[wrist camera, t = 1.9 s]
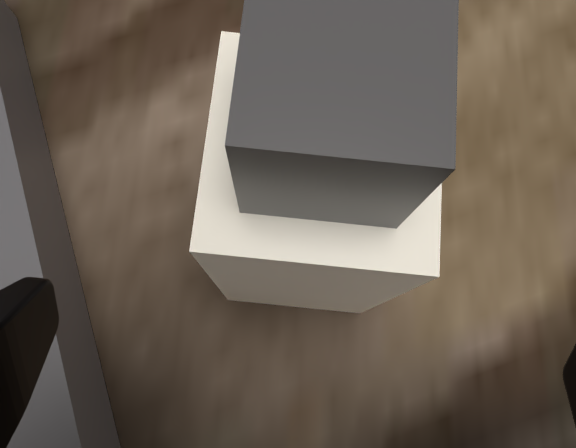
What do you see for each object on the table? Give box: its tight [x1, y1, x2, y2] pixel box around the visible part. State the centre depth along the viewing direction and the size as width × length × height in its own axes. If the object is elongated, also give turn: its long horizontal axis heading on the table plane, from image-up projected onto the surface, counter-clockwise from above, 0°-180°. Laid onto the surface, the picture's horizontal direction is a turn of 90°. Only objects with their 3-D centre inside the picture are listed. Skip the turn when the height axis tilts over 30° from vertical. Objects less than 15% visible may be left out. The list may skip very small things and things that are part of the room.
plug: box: [189, 0, 459, 313], centre depth 14 cm, size 5×5×13 cm
